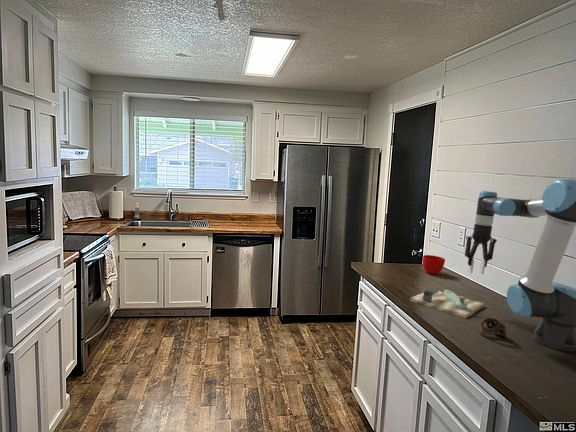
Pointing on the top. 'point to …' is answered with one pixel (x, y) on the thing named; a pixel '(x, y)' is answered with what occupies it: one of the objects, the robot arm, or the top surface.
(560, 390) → the top surface
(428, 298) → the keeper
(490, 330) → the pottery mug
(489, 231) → the robot arm
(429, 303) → the base board
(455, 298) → the link
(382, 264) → the top surface
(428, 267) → the ceramic cup
